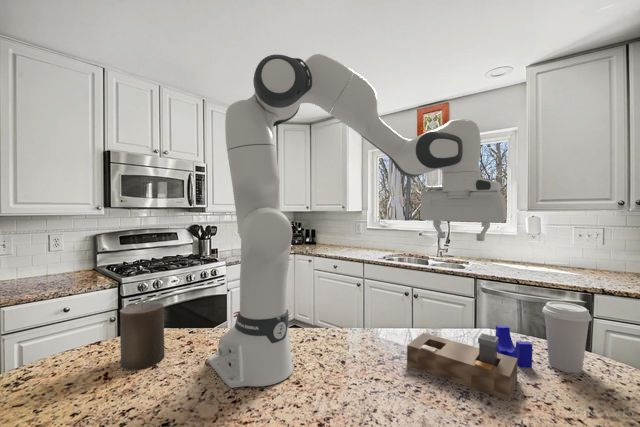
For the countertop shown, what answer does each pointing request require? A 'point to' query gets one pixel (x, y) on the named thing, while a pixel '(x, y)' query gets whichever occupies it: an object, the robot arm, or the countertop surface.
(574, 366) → the coffee cup
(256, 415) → the countertop surface
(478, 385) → the socket block
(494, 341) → the plug
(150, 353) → the pillar candle
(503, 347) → the cable clip
